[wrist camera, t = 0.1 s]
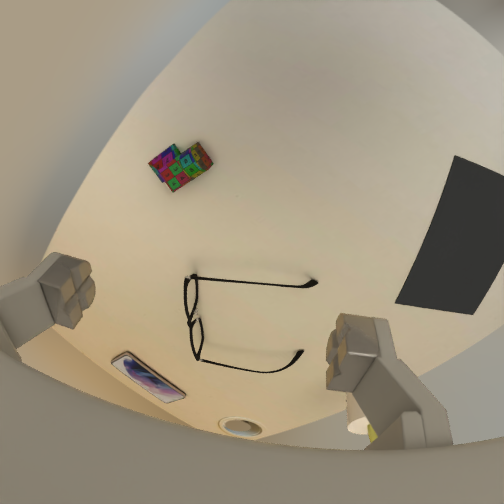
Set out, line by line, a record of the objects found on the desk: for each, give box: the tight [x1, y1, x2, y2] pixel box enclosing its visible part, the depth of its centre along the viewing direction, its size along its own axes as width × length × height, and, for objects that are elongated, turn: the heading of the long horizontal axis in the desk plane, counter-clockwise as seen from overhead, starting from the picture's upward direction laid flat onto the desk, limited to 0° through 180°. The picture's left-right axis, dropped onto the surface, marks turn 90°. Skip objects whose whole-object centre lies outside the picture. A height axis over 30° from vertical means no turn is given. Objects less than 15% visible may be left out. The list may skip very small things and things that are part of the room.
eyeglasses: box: [184, 274, 318, 373], centre depth 40 cm, size 16×16×4 cm
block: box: [148, 142, 213, 192], centre depth 30 cm, size 6×4×3 cm
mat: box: [395, 156, 504, 315], centre depth 31 cm, size 20×14×1 cm
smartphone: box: [111, 352, 186, 403], centre depth 55 cm, size 7×1×15 cm
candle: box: [346, 392, 378, 443], centre depth 39 cm, size 6×6×15 cm
